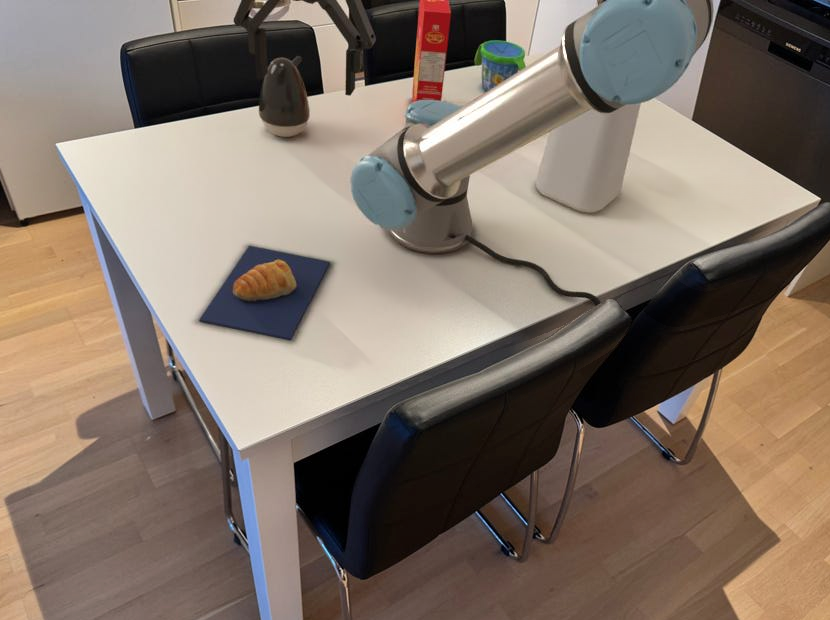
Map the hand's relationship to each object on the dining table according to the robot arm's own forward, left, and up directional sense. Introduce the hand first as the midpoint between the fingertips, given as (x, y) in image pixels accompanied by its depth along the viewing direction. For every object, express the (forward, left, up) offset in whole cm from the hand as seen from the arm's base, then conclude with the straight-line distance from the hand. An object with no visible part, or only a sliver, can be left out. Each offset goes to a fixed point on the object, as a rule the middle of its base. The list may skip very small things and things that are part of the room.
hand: (306, 84), depth 111 cm
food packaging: (-10, -53, -27) cm, 60 cm away
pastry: (+1, +17, -26) cm, 32 cm away
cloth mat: (+1, +17, -27) cm, 32 cm away
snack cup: (-24, -74, -27) cm, 82 cm away
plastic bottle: (-46, -32, -27) cm, 62 cm away
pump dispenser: (+16, -34, -27) cm, 46 cm away
